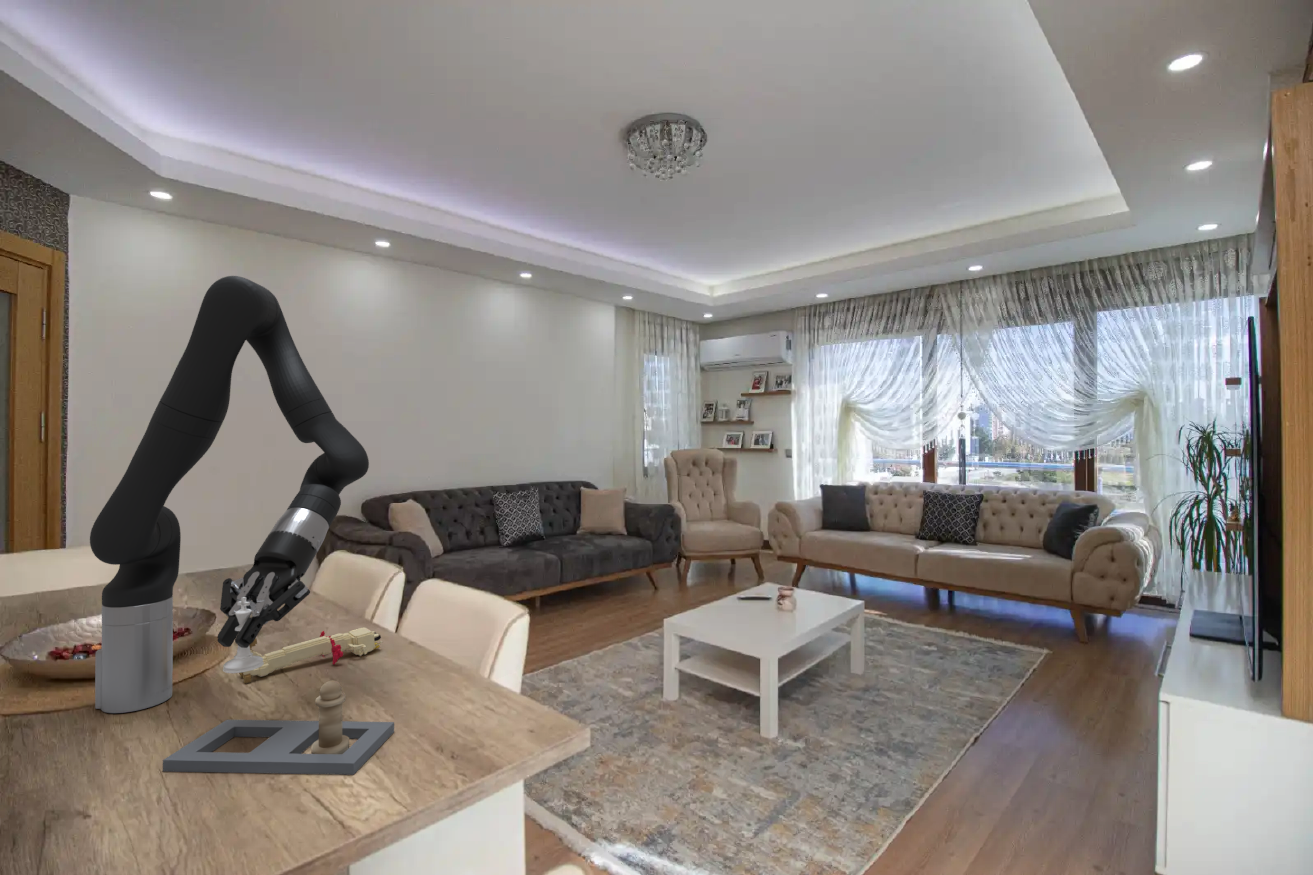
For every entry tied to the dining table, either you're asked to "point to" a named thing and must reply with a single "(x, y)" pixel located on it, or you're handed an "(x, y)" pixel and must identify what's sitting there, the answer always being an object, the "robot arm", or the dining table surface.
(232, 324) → the robot arm
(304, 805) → the dining table surface
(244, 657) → the chess piece
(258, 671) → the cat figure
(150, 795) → the dining table surface
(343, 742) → the pawn
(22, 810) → the dining table surface
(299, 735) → the grey chess piece holder
